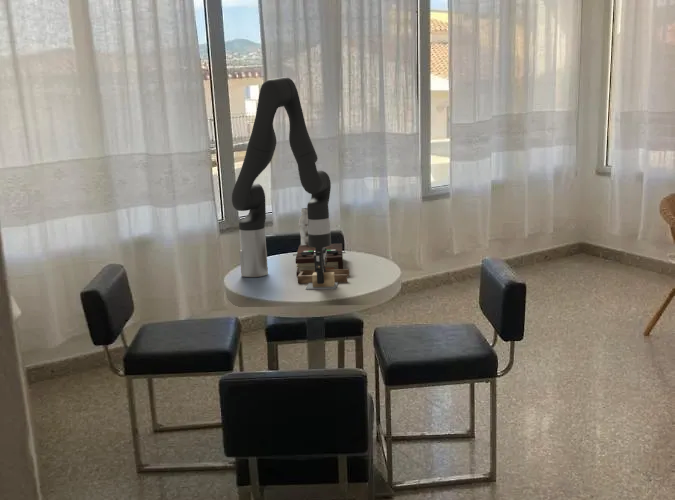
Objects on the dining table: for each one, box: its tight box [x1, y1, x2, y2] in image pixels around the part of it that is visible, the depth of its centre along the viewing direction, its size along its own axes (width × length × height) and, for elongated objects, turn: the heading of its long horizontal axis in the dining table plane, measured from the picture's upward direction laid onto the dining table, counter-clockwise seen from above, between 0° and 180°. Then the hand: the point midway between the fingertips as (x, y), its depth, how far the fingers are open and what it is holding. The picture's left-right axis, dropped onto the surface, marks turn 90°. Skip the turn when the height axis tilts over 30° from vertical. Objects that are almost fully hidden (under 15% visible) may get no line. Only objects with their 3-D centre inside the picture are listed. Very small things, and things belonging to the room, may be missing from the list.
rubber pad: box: [305, 282, 339, 291], centre depth 239 cm, size 10×8×1 cm
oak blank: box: [312, 272, 335, 287], centre depth 239 cm, size 7×4×4 cm, turn 84°
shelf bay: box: [297, 268, 350, 284], centre depth 248 cm, size 17×9×2 cm, turn 84°
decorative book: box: [292, 243, 346, 277], centre depth 267 cm, size 19×8×30 cm
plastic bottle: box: [298, 207, 309, 245], centre depth 282 cm, size 6×7×20 cm
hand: (321, 281), depth 239 cm, fingers open, 5 cm apart
